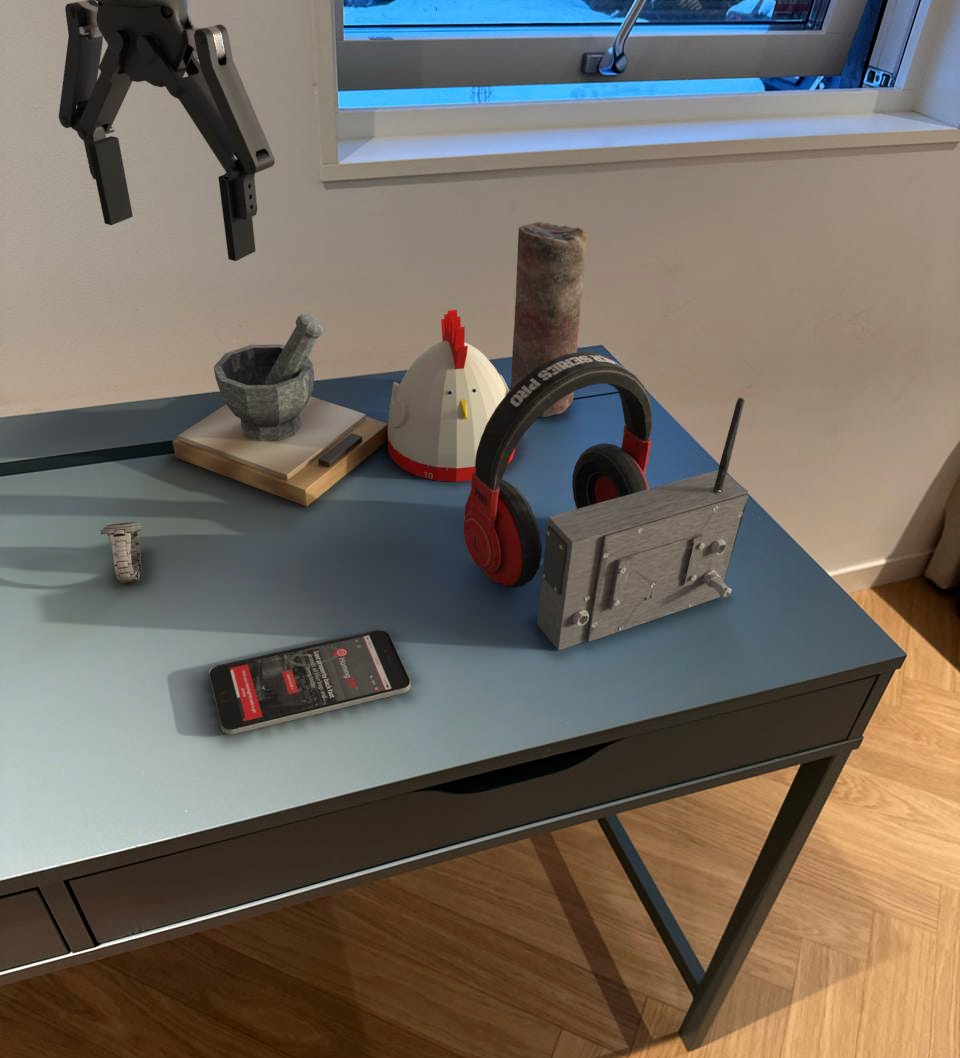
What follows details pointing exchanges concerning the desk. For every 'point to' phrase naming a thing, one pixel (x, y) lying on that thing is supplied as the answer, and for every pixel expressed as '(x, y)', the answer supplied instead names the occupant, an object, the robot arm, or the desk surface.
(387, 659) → the smartphone
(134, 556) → the wristwatch
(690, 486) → the electronic device
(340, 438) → the scale
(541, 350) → the brown stone cylinder
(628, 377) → the headphones
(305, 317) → the mortar and pestle
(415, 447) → the kitchen timer
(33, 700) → the desk surface
